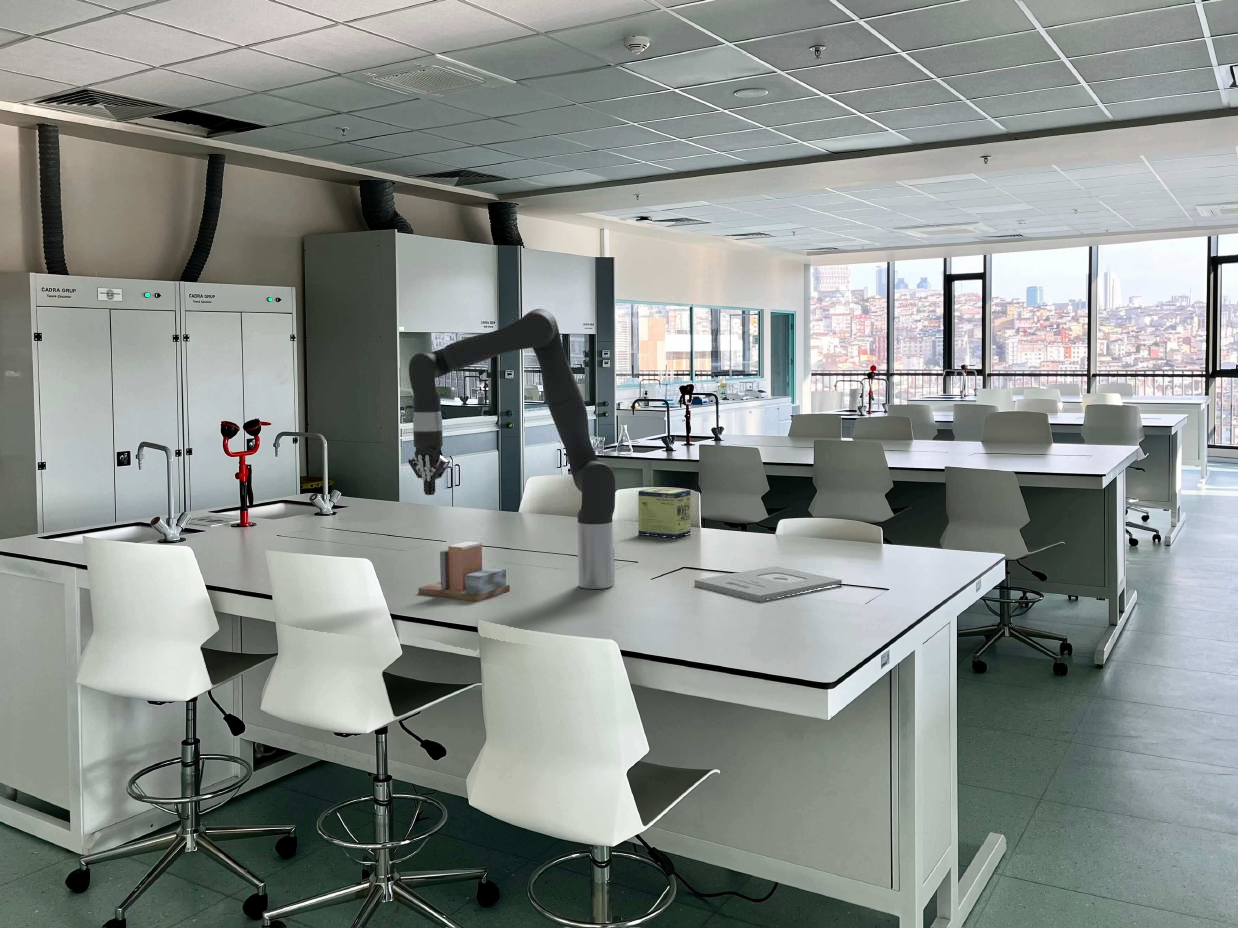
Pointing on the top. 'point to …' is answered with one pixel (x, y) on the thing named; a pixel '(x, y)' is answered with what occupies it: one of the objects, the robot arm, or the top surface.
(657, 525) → the protein box
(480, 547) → the orange upright rectangular block
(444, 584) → the bookend
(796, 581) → the award plaque
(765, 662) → the top surface
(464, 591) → the rack
